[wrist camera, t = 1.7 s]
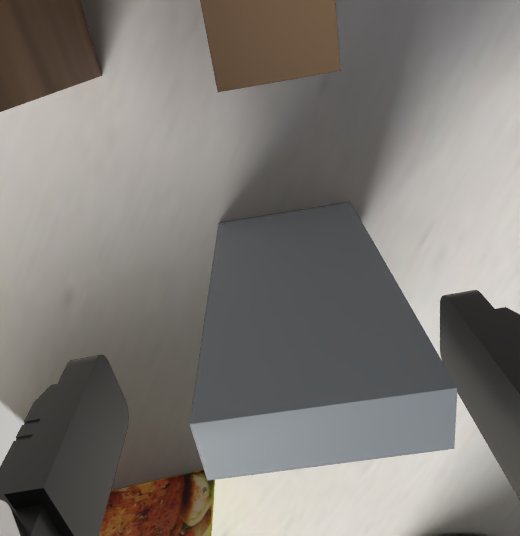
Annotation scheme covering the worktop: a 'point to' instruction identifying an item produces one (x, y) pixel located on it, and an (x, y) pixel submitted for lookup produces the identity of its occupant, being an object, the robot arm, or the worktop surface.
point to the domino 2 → (270, 40)
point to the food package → (162, 508)
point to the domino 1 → (43, 49)
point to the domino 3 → (312, 352)
